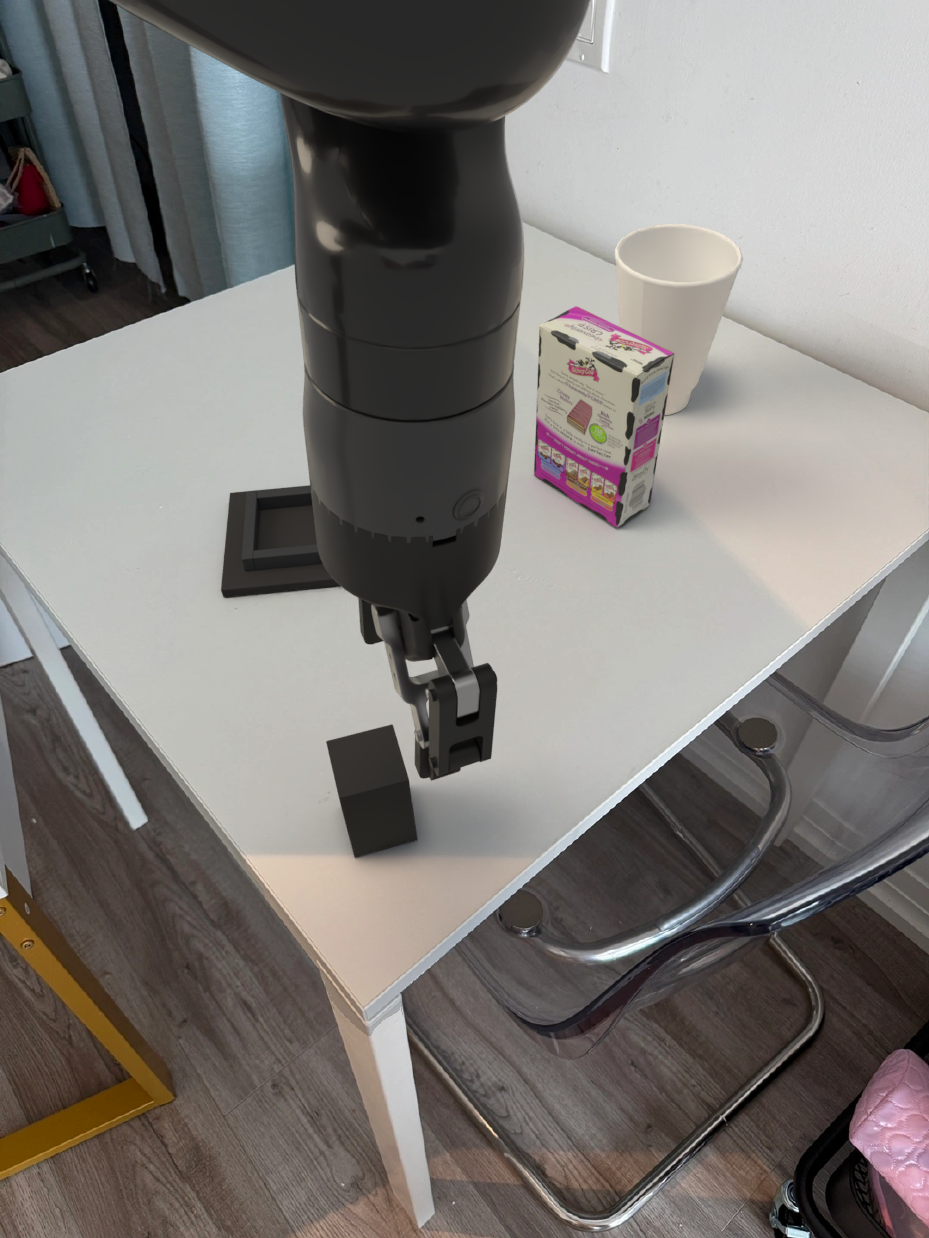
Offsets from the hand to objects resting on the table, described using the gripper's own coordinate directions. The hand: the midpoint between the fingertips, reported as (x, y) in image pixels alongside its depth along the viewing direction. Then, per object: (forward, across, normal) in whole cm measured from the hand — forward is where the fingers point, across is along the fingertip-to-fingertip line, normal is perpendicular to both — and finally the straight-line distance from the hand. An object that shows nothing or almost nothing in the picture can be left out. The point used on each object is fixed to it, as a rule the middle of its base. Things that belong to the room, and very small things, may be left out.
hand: (409, 699), depth 46 cm
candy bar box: (+21, -30, +29) cm, 47 cm away
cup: (+21, -40, +42) cm, 62 cm away
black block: (+20, -4, -1) cm, 21 cm away
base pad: (+23, -34, +1) cm, 41 cm away
